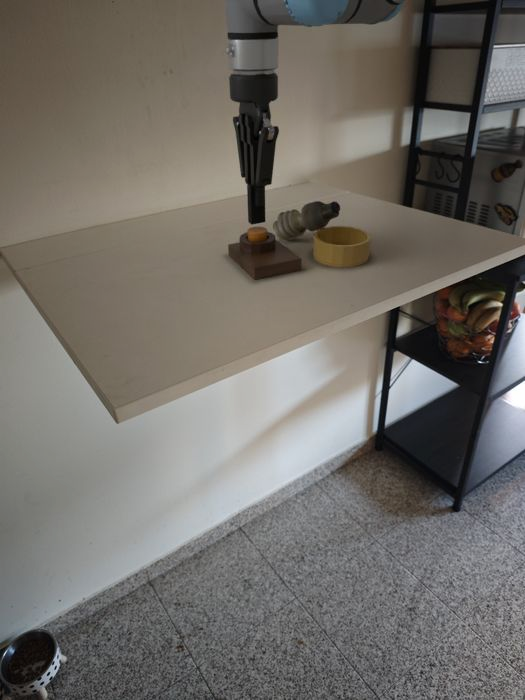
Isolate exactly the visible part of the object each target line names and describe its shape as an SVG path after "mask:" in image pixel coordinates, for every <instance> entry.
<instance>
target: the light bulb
mask: <svg viewBox="0 0 525 700" xmlns="http://www.w3.org/2000/svg"><path fill="white" fill-rule="evenodd" d="M340 211H341V205H340V204H339V203H338V201H332V202H329V203H324V202H322V201H321V200H316V201H312V202H308V203H306V204H304V205H303V206H302V207H301V211H299V210H297V209H294V208H293V209H291V210H286V211H281V212H280V213H279V214H278V215H277V219H276V220H275V221H274V222H273V223H272V229H273V232H274V235H275V236H276V237H278V238H279V239H281V240H282V241H283V240H284V241H290V240H293V239H296V238H298V237H301V236H303V235H304V234H305V233H306V231H309V232H316V231H317V230H319V229H322V228H325V227H327V225H328V224H329V222H330V221H331V220H333V219H336V218H338V217H339V215H340Z"/></svg>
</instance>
